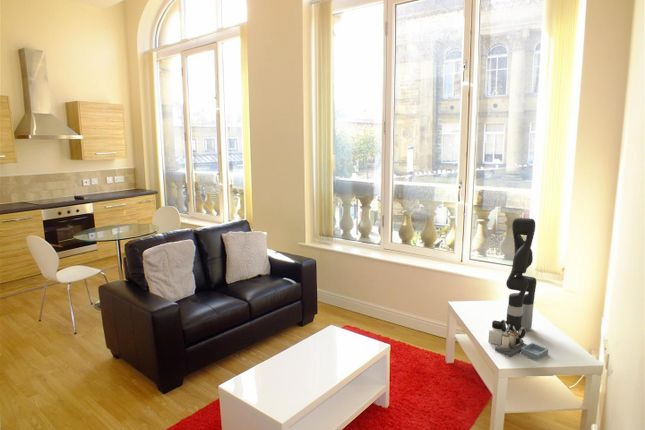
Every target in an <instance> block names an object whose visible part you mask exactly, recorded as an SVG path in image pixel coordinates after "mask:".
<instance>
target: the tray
mask: <svg viewBox="0 0 645 430" xmlns="http://www.w3.org/2000/svg"><path fill="white" fill-rule="evenodd" d="M519 355H523V356H524V357H527V358H528V359H531V360H534V361H536V362H538V361H539V360H542V359H543V358H545V357H547V356H548V355H549V348H546V347H544V346H541V345H539V344H538V343H535V342H530V343H527V345H526V346H524V347H522V348H521V352H520V354H519Z"/></svg>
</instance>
